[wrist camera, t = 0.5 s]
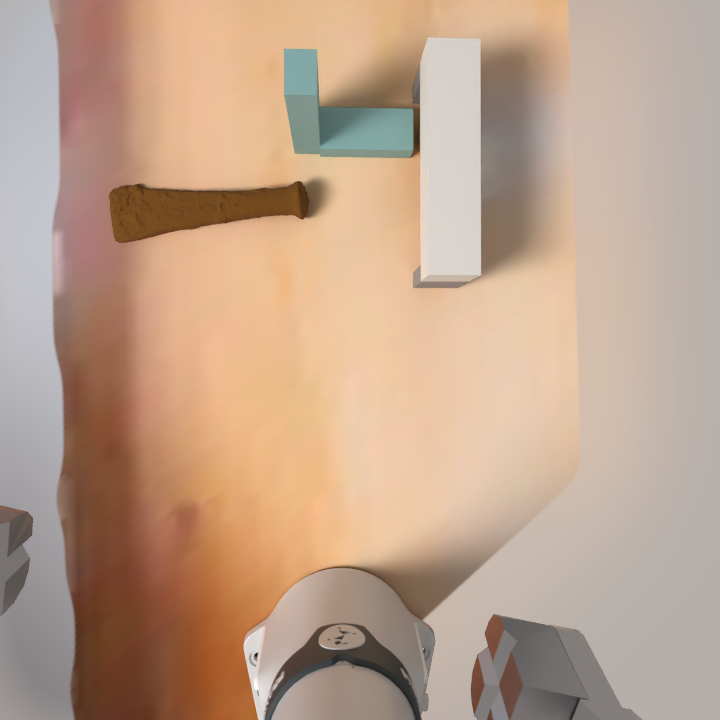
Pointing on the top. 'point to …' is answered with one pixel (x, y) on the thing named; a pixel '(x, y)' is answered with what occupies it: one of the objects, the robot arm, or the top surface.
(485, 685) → the robot arm
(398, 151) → the block
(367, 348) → the top surface
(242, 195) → the primitive tool
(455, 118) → the white bench
